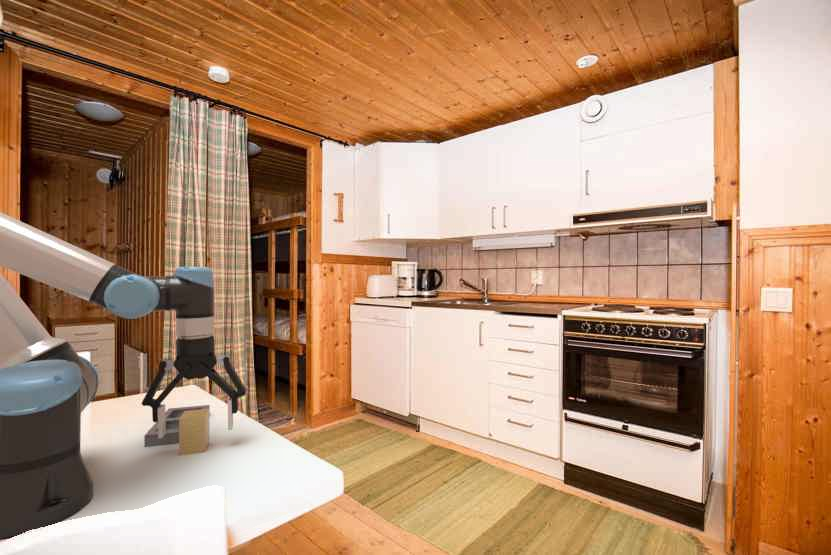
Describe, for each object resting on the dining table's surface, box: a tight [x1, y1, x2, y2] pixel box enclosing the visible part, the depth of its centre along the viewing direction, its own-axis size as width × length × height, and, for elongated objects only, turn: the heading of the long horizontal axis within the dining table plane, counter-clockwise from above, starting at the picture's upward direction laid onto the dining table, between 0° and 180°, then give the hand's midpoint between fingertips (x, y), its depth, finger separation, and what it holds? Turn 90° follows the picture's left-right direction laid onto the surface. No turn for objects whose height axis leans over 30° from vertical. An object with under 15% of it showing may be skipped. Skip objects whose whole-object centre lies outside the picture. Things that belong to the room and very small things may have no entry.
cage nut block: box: [178, 409, 210, 456], centre depth 88 cm, size 5×5×8 cm
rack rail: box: [144, 404, 211, 448], centre depth 101 cm, size 20×10×2 cm, turn 18°
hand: (197, 432), depth 89 cm, fingers open, 13 cm apart
